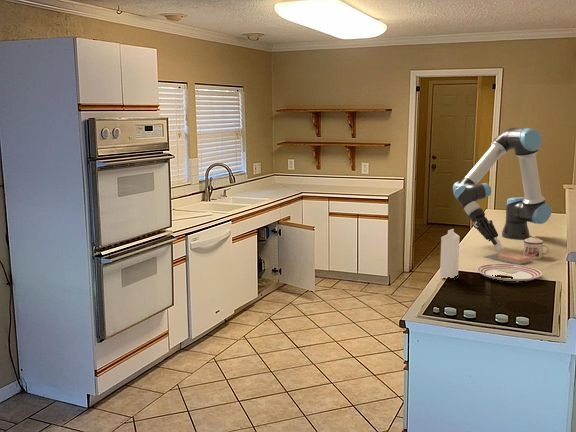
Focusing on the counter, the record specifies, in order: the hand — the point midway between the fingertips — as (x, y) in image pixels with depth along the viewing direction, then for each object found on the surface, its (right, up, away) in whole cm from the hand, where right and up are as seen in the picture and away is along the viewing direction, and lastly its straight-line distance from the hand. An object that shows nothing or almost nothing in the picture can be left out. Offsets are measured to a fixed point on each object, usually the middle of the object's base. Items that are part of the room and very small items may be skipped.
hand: (501, 249), depth 292 cm
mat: (+2, -5, -3) cm, 6 cm away
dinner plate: (-7, -11, -29) cm, 32 cm away
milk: (-34, -11, -30) cm, 46 cm away
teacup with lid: (+18, -5, +1) cm, 18 cm away
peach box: (+1, -3, -1) cm, 3 cm away
